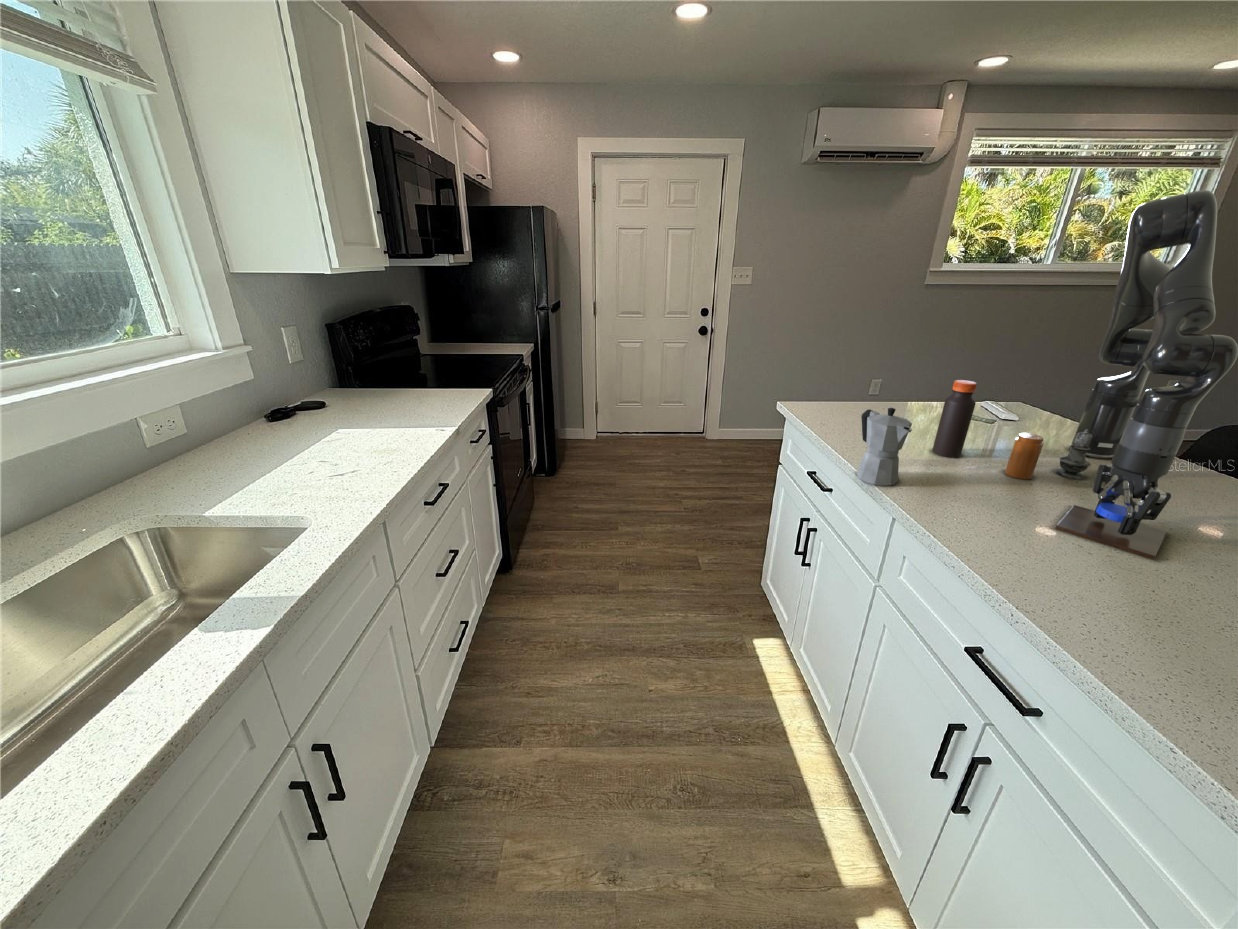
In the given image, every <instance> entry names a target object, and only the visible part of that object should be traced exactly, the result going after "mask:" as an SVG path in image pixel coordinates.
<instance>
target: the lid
mask: <svg viewBox="0 0 1238 929" xmlns="http://www.w3.org/2000/svg"><path fill="white" fill-rule="evenodd" d="M1126 508H1127V506H1126V505H1121V504H1118V503H1115V504H1113V503H1100V504H1099V506H1098V507H1097V509H1096V508H1095V509H1096V512H1097V513H1098V514H1099V515H1101V516H1103V517H1105V518H1107V519H1110V520H1112V521H1116V522H1120V523H1122V520H1123V518H1124V516H1126ZM1135 512H1137V511H1136V510H1135Z"/></svg>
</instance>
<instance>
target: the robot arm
mask: <svg viewBox="0 0 1238 929" xmlns="http://www.w3.org/2000/svg"><path fill="white" fill-rule="evenodd" d="M1217 224H1218V202H1217V198H1216V196H1215V194H1214V192H1213V191H1211V190H1208V189H1202V190H1196V191H1195V190H1194V191H1190V192H1184V193H1181V194H1176V195H1175V194H1174V195H1172V196H1167V197H1162V198H1157V199H1152V200H1150V201H1149V200H1148V201H1145V202H1144V203H1143V202H1142V203H1141V204H1139V205H1138V206H1137V207H1136V208H1135V210H1133V212H1132V214H1131V217H1130V220H1129V223H1128V229H1127V235H1126V242H1125V247H1124V248H1125V249H1124V257H1123V263H1122V268H1121V271H1120V273H1119V278H1118V281H1117V285H1116V287H1115V291H1114V294H1113V299H1112V306H1111V311H1110V316H1109V321H1108V324H1107V327H1106V330H1105V333H1104V335H1103V338H1102V341H1101V344H1100V346H1099V351H1098V359H1099V361H1100V362H1101V363H1104V364H1107V365H1112V366H1120V367H1129V368H1131V367H1132V368H1133V369H1132V370H1130V371H1129V372H1125V373H1123V374H1119V375H1112V376H1104V377H1100V378H1097V379H1096V380H1095V381H1094V383H1093V386H1092V389H1091V392H1090V394H1089V396H1088V400H1087V402H1086V404H1085V407H1084V410H1083V412H1082V415H1081V418H1080V420H1079V423H1078V425H1077V429H1076V431H1075V434H1074V436H1073V439H1072V441H1071V444H1070V445H1069V450H1071V445H1072V444H1073V443H1074V441H1075V438H1076V435H1077V434H1078V433H1080V432H1085V430H1086V429H1088V433H1090V434H1091V435H1092V440H1091V442H1090V445H1089V448H1090V449H1089V450H1088V451H1087V454H1086V457H1089V458H1095V459H1103V460H1104V459H1106V460H1107V459H1108V460H1109V459H1111V461H1110V462H1111V464H1099V465H1098V468H1097V472H1096V474H1095V475H1096V476H1095V480H1094V482H1093V487H1092V493H1093V494H1097V499H1098V501H1097V504H1096V506H1095V509H1094V511H1095V513H1094V516H1095V517H1097V518H1102V519H1106V518H1105V517H1103V516H1101V515H1099V514H1098V513H1097V512H1096V509H1097V507H1098V506H1099V504H1100V503H1113V504H1116V502H1115V501H1117V500H1118V498H1120V497H1121V496H1122V497H1123V504H1124V506H1125V507H1127V508H1126V516H1124V518H1123V520H1122V523H1121V525H1120V527H1119V529H1118V532H1119V533H1120V534H1122V535H1132V534H1134V533H1135V532H1136V531H1137V528H1138V526H1139V524H1140V523H1142V520H1145V521H1156V519H1157V518H1158V516H1159V515H1160V514H1161V512H1163V509H1164V508H1165V507H1166V505H1167V504H1168V503H1169V501H1170V500H1171V498H1172V493H1171V492H1165V491H1162V490H1161V489H1160V488H1158V486H1159V479H1160V478H1162V477H1164V476H1166V475H1168V473H1169V471H1170V468H1171V467H1172V464H1173V462H1174V460H1175V459H1176V456H1177V454H1178V451H1179V449H1180V448H1181V446H1182V443H1183V441H1184V438H1185V434H1186V430H1187V429H1188V426H1189V423H1190V422H1191V419H1192V417H1193V415H1194V413H1195V411H1196V409H1197V407H1198V405H1199V404H1200V403H1201V401H1202V400H1203V399H1204V398H1205V397H1206V396H1207V395H1208V394H1209V392H1210V391H1211V390H1212V389H1213V388H1214V387H1215V386H1216V384H1218V382H1219V381H1220V380H1221V379H1223V377H1224V376H1225V375H1226V374H1227V373H1228V372H1229V371H1230V369H1231V368H1232V367H1233V366H1234V365H1235V363H1236V361H1237V359H1238V343H1237V342H1236V340H1235V339H1234V338H1233V337H1231V336H1229V335H1222V334H1201V333H1199V332H1201V331H1204V330H1205V329H1207V328H1209V327H1210V326H1211V325H1212V324H1213V323H1214V321H1215V319H1216V313H1217V312H1216V305H1215V296H1214V288H1213V267H1214V259H1215V252H1216V250H1215V249H1216V238H1217ZM1187 244H1188V248H1187V250H1186V251H1185V253H1184V254H1183V255H1182V257H1181V258H1180V259H1179V260H1178V261H1177V263H1176V264H1175V265H1173V267H1172V268H1170V267H1169V266H1168V265H1167V264H1166V263H1165V262H1163V261H1161V260H1160V259H1158V258H1157V257H1156V256H1154V255H1153V253H1152V252H1151V251H1155V250H1160V249H1166V248H1172V247H1178V246H1185V245H1187ZM1152 319H1154V323H1153V327H1152V329H1146V328H1143V329H1142V328H1136V327H1138V326H1140V325H1143V324H1145V323H1146V322H1149V321H1150V320H1152ZM1150 373H1151V374H1154V375H1157V376H1158V375H1159V376H1171V377H1173V376H1174V377H1184V378H1183V379H1182V380H1180V381H1179V382H1177V383H1176V384H1173V385H1167V386H1157V387H1151V388H1147V389H1146V390H1144V391H1143V389H1144V387H1145V385H1146V382H1147V380H1148V377H1149V375H1150ZM1103 483H1104V486H1103V487H1102V485H1103ZM1134 499H1135V500H1134ZM1139 499H1140V500H1139ZM1137 500H1138V501H1137ZM1136 507H1138V509H1137V511H1136ZM1135 511H1136V512H1135Z"/></svg>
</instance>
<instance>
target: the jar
mask: <svg viewBox="0 0 1238 929" xmlns="http://www.w3.org/2000/svg"><path fill="white" fill-rule="evenodd" d="M1017 436H1018V437H1015V439H1014V442H1013V446H1012V448H1011V451H1010V454H1009V458H1008V460H1007V464H1006V467H1005V470H1004V473H1005V475H1007V476H1009V477H1011V478H1014V479H1019V480H1031V479H1032V478H1033V475H1034V472H1035V470H1036V466H1037V464H1038V462H1039V458H1040V456H1041V452H1042V450H1043V447H1044V445H1045V443H1044V437H1043V436H1041V435H1038V434H1035V433H1030V432H1029V433H1028V432H1021V433H1019V434H1018V435H1017Z"/></svg>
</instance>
